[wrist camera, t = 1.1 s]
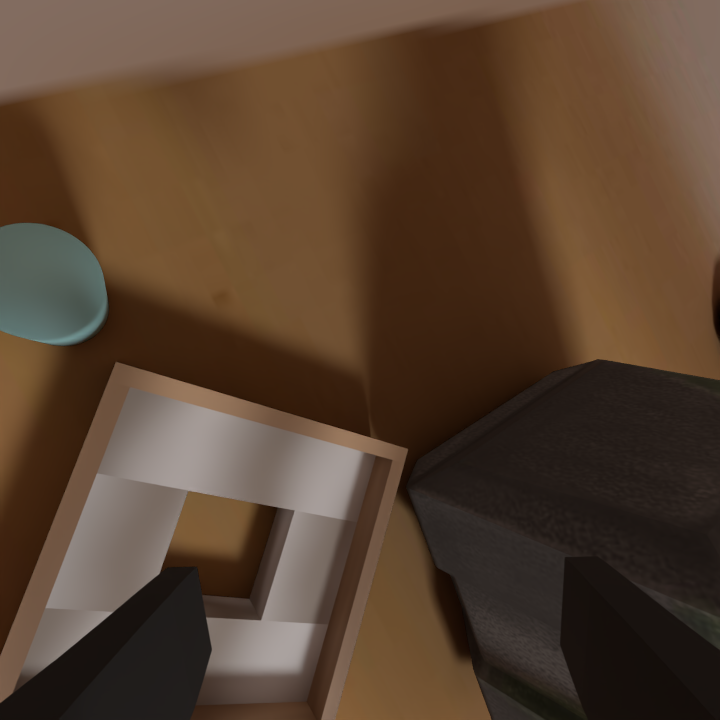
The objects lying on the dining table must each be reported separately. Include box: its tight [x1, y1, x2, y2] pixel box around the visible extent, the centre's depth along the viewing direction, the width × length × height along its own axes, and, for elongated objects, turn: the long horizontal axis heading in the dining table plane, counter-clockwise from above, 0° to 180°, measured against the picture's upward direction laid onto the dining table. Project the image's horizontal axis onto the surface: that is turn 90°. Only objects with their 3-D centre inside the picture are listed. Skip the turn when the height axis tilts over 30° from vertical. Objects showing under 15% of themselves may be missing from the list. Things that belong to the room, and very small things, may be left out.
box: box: [0, 362, 408, 720], centre depth 19 cm, size 13×13×4 cm
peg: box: [0, 223, 109, 346], centre depth 15 cm, size 3×3×6 cm
